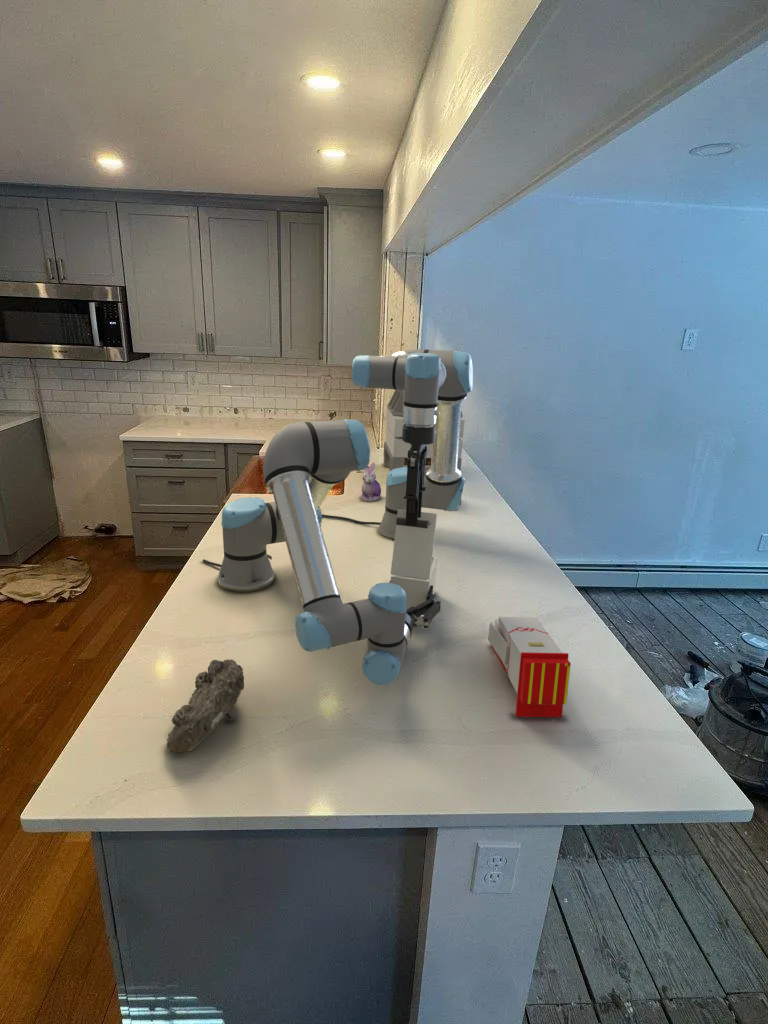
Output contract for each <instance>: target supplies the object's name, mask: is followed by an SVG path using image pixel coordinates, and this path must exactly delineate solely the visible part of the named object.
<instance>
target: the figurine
mask: <svg viewBox="0 0 768 1024" xmlns="http://www.w3.org/2000/svg"><path fill="white" fill-rule="evenodd" d="M375 468H376V462H372V463H371V465H370V466H369V465H368V466H367V468H366V469H364V470H363V471H364V472H363V474H362V481H363V483H362V485H361V496H360V498H361V500H362V501H364V502H373V501H377V500H380V499H381V495H382V487H381V484H380V482H379V481H378V480H376V479H377V476H376V473H375Z"/></svg>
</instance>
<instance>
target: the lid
mask: <svg viewBox="0 0 768 1024" xmlns="http://www.w3.org/2000/svg"><path fill="white" fill-rule="evenodd" d="M437 519H438V513H434V512H425V511H421V518H418V521H417V526H411V525H405V523H406V510H401V509H398V513H397V520H396V531H395V539H393V549H392V550H393V551H392V557H391V558H392V559H391V566H390V567H391V568H390V575H399V576H406V577H413V578H421V579H428V580H429V579H430V573H431V564H432V556H434V546H435V536H436V529H437Z"/></svg>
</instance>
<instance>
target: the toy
mask: <svg viewBox="0 0 768 1024" xmlns="http://www.w3.org/2000/svg"><path fill="white" fill-rule="evenodd" d="M488 625H489V627H488V633H487V641H488V642H489V644H490V646H491V647H490V648H491V649H492V650H493V652H494V654H495V656H496V658H497V659H498V660H499V662H500V664H501V666H502V668H503V669H504V671H505V673H506V674H507V676H508V678H509V680H510V682H511V685H512V686H513V689H514V690H515V693H516V704H515V717H516V718H517V717H518V718H519V717H520V718H521V717H522V718H563V710H564V705H567V701H568V692H569V685H570V684H569V683H570V676H571V675H570V674H571V666H572V664H571V661H570V660H569V655H570V654H569V653H568V652H563V651H562V649H561V648H560V647H559V646H558V644H557V643H556V642H555V640H554V639H553V638H552V636H551V635H550V634H549V632H548V631H547V629H546V628H545V627H544V626H543V624H542V622H541V621H540V620H539V619H538V618H537V616H498V618H496V619H494V623H493V622H489V624H488Z"/></svg>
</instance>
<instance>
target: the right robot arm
mask: <svg viewBox="0 0 768 1024" xmlns="http://www.w3.org/2000/svg"><path fill="white" fill-rule="evenodd" d="M473 368H474V367H473V360H472V356H471V354H470V353H468V352H467V351H458V350H446V349H425V348H416V349H409V350H403V351H396V352H394V353H393V354H391V355H369V354H365V355H361V354H360V355H356V356H355V357H354V358H353V360H352V364H351V381H352V384H353V386H355V387H358V388H364V389H378V390H379V389H383V390H394V391H395V390H405V395H404V406H403V422H404V423H405V424H404V425H403V428H402V440H403V441H404V442H406V443H410V444H411V448H410V450H408V459H407V465H406V466H404V467H401V468H396V469H393V470H391V471H390V470H389V472H388V473H387V475H386V482H385V504H384V505H385V507H384V508H385V509H384V513H383V515H382V519H381V522H378V521H377V522H376V521H361V520H357V519H354V518H349V517H345V516H339V515H331V514H330V515H329V514H322V518H328V519H335V520H336V519H337V520H343V521H348V522H352V523H355V524H360V525H372V526H373V525H374V526H375V525H376V526H379V527H378V533H379V534H380V535H381V536H382V537H385V538H387V539H389V540H395V531H396V520H397V513H398V509H401V510H406V523H405V525H411V526H417V521H418V518H421V512H422V509H423V508H424V509H433V510H442V511H451V512H452V511H453V512H454V511H457V510H458V509H459V508H460V506H461V505H460V500H461V501H462V495H463V493H464V492H463V491H464V486H465V483H466V478H465V477H463V476H462V471H461V472H460V470H459V469H458V468H457V461H458V446H459V431H460V417H461V412H462V403H463V401H464V400H466V399H467V397H468V394H469V393H471V392H472V391H473V385H474V369H473ZM461 418H462V417H461ZM428 444H432V458H431V465H430V466H429V468H428V469H427V470H426V466H425V464H426V455H427V446H425V445H428ZM459 505H460V506H459Z"/></svg>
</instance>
